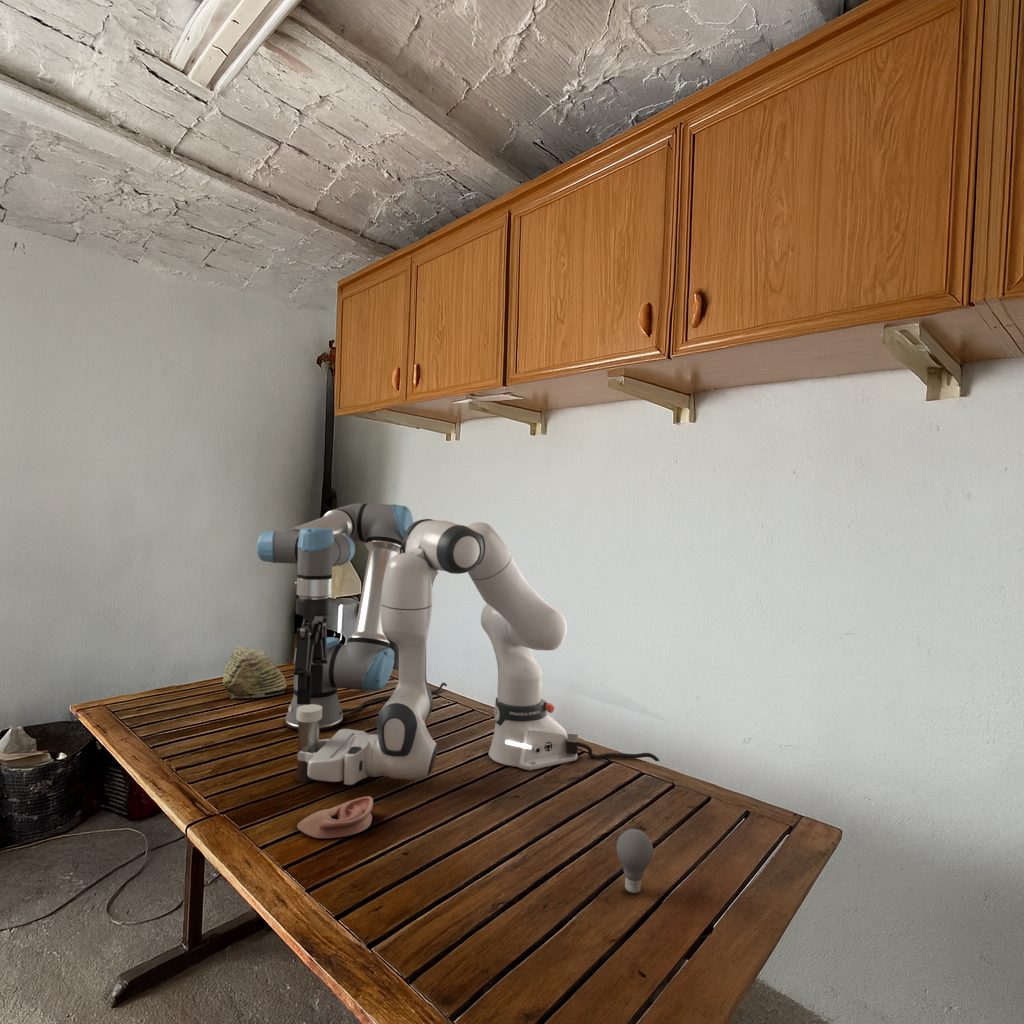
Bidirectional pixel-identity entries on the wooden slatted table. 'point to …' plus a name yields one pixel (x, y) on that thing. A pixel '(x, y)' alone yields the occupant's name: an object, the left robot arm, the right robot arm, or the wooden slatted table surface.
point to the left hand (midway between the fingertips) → (310, 698)
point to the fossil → (252, 674)
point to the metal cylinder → (307, 746)
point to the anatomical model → (339, 819)
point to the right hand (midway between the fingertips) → (304, 749)
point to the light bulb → (634, 857)
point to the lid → (309, 713)
